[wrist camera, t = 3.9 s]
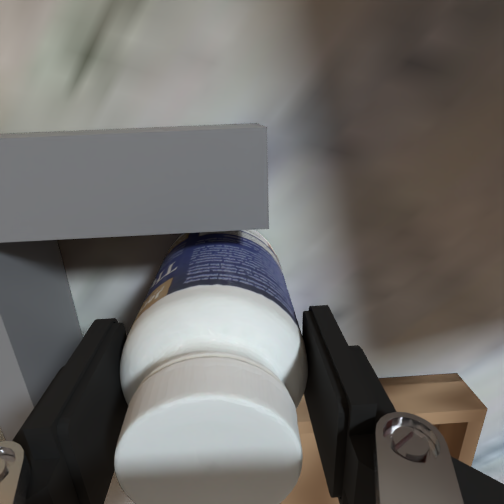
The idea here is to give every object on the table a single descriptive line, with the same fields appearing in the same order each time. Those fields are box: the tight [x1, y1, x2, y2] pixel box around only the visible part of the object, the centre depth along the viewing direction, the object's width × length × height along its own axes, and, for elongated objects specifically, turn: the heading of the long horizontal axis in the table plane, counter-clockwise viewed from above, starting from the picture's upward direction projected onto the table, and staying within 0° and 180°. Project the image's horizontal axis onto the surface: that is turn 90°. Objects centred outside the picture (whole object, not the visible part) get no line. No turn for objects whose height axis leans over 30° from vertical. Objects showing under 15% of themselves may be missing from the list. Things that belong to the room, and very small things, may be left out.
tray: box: [280, 373, 487, 504], centre depth 20 cm, size 13×13×2 cm
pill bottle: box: [114, 230, 308, 504], centre depth 12 cm, size 5×5×10 cm
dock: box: [0, 123, 269, 441], centre depth 14 cm, size 10×13×4 cm
